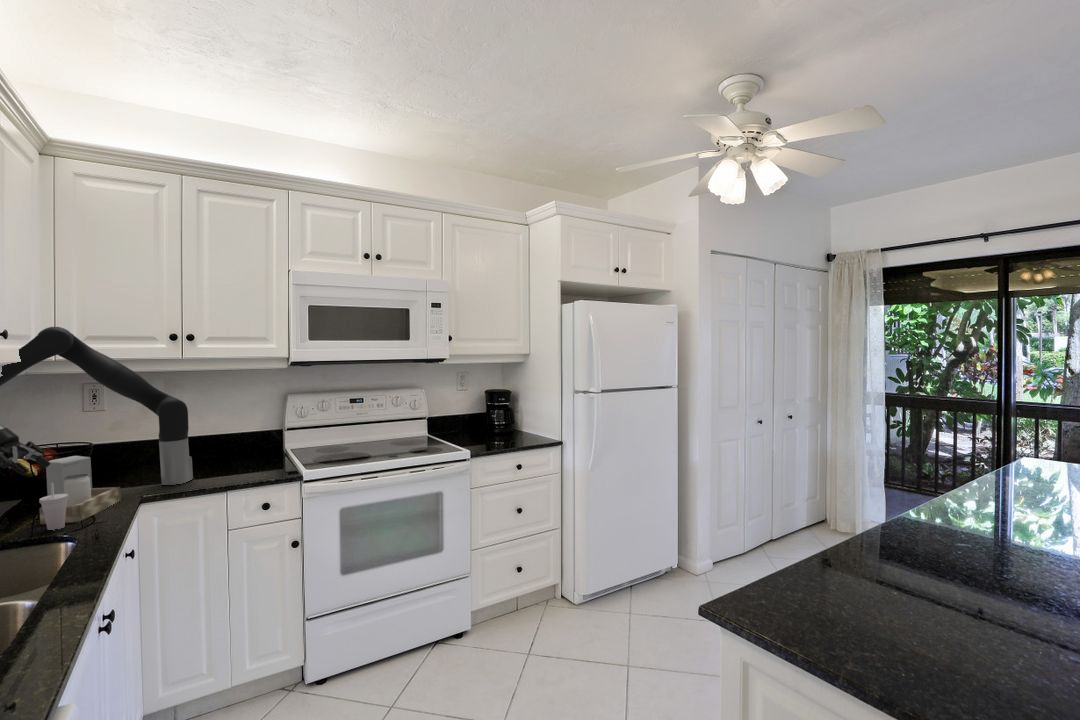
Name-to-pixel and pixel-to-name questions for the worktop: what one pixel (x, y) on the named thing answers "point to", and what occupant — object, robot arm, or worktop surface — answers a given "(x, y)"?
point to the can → (77, 488)
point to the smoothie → (54, 509)
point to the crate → (90, 504)
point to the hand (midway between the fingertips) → (37, 469)
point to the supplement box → (66, 471)
